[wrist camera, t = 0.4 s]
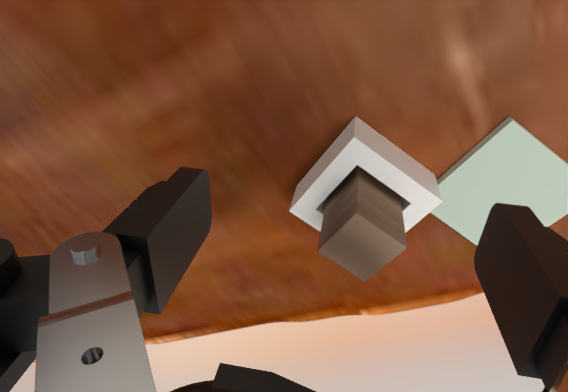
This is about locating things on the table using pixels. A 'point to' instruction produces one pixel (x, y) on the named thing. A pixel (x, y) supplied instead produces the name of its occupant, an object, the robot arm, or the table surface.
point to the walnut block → (362, 225)
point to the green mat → (503, 181)
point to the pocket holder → (375, 160)
